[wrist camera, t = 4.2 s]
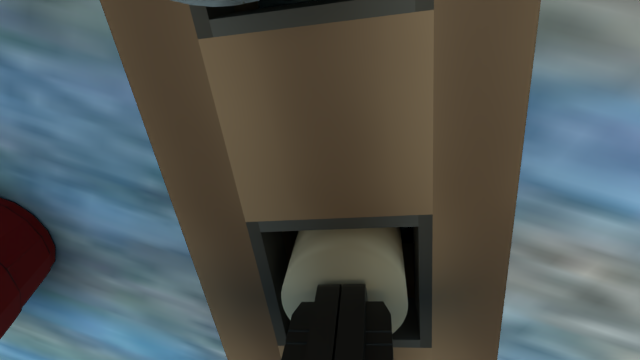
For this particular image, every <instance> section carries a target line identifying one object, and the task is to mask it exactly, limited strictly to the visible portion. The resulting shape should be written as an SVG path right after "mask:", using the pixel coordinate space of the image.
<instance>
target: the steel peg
mask: <svg viewBox="0 0 640 360" xmlns="http://www.w3.org/2000/svg"><path fill="white" fill-rule="evenodd" d="M171 1H176V2H180V3H184V4H189V5H196V6H208V7H220V6H236V5H240V4H245V3H250V2H254V1H259V0H171Z"/></svg>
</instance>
